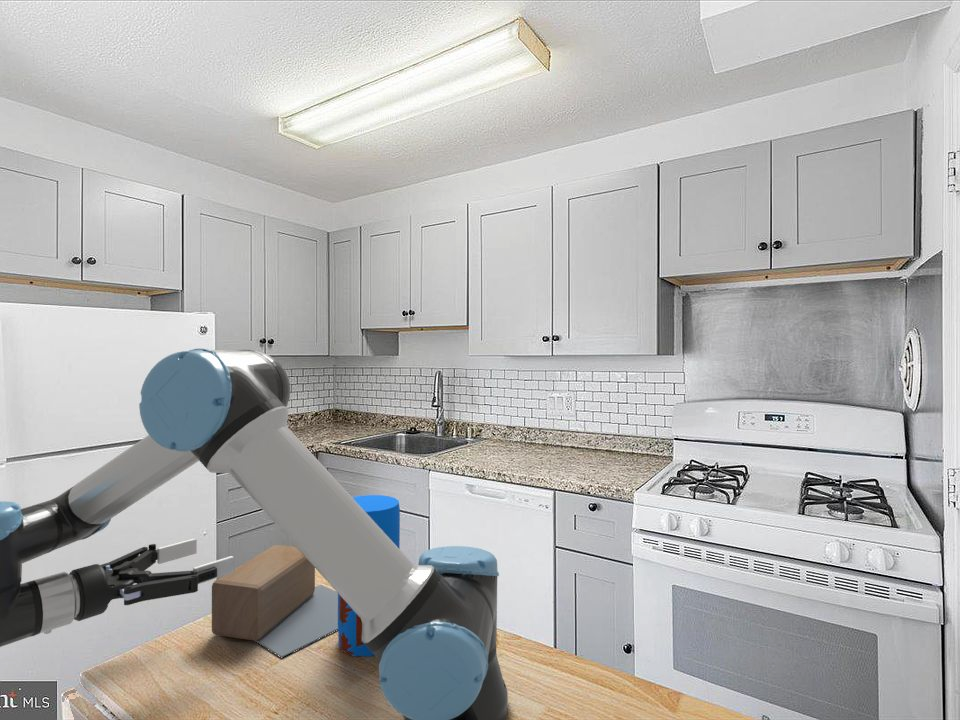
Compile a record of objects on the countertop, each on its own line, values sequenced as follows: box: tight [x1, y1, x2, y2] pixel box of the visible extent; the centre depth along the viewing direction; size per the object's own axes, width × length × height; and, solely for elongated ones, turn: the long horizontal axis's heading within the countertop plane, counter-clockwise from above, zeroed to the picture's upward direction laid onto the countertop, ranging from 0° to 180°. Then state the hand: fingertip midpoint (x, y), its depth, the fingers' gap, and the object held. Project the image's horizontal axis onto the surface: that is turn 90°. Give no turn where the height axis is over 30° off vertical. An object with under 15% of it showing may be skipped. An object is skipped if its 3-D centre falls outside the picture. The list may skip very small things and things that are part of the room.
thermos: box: [337, 494, 401, 658], centre depth 97 cm, size 11×11×25 cm
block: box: [211, 544, 316, 641], centre depth 105 cm, size 10×10×20 cm
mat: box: [252, 584, 338, 658], centre depth 105 cm, size 18×21×1 cm
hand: (213, 554), depth 97 cm, fingers open, 13 cm apart
